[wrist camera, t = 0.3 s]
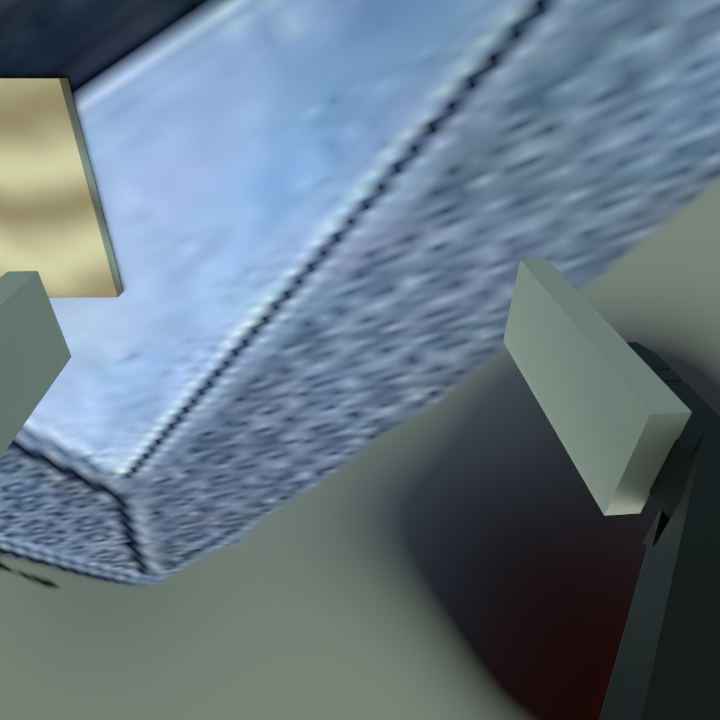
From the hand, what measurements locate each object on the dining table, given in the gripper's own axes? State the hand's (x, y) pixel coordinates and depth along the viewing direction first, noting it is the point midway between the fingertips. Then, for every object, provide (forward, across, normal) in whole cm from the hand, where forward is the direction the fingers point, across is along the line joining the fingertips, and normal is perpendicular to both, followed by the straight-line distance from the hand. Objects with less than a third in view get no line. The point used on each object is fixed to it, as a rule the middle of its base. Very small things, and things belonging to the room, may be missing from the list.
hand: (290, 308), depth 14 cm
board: (+28, -24, -5) cm, 38 cm away
